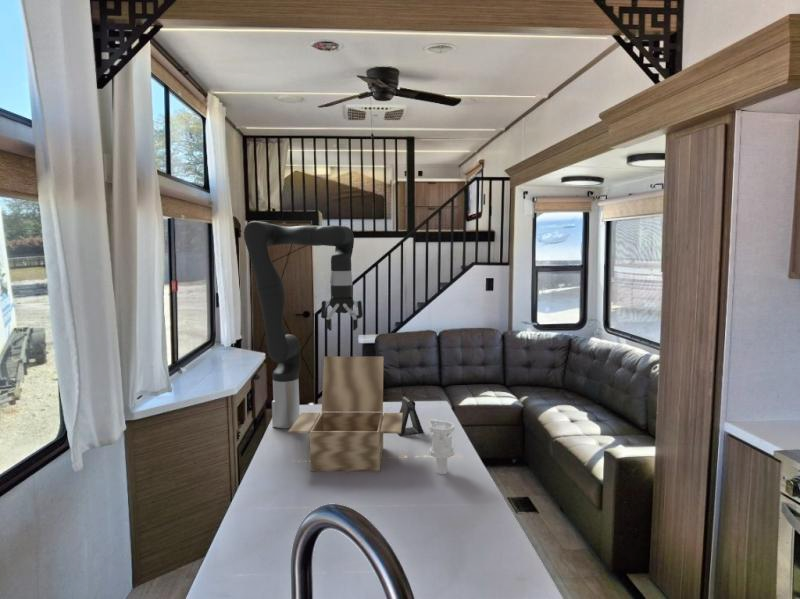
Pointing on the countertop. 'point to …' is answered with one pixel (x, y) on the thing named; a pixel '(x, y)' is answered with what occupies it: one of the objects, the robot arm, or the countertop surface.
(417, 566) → the countertop surface
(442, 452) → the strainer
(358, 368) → the lid flap
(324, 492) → the countertop surface
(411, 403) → the phone stand
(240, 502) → the countertop surface
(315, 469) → the carton
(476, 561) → the countertop surface
